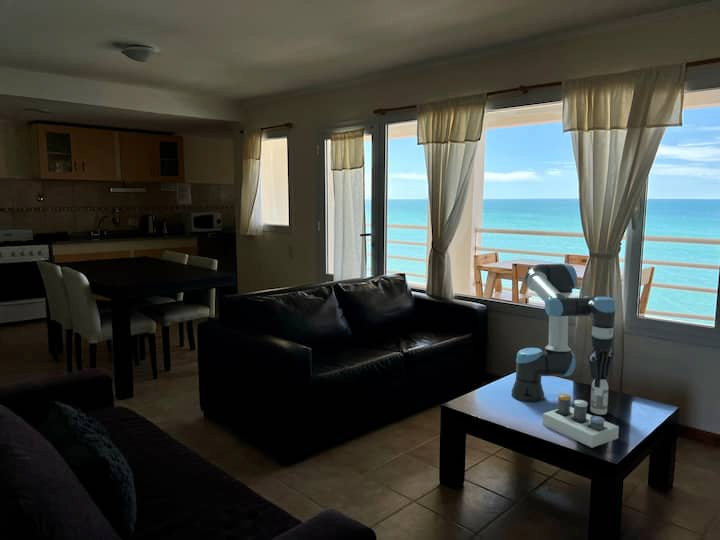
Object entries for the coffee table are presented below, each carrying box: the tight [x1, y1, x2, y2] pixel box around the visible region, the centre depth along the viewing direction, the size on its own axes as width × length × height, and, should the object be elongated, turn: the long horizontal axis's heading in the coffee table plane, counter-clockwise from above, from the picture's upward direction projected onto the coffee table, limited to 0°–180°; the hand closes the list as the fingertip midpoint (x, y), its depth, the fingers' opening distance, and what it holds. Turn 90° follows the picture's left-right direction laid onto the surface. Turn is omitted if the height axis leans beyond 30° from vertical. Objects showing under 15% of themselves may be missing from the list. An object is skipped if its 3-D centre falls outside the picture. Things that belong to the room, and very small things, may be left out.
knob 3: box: [590, 415, 606, 431], centre depth 204 cm, size 5×5×8 cm
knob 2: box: [573, 399, 589, 423], centre depth 211 cm, size 5×5×8 cm
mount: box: [542, 406, 620, 448], centre depth 211 cm, size 24×16×5 cm, turn 29°
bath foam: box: [589, 378, 609, 415], centre depth 230 cm, size 7×7×20 cm
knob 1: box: [557, 393, 572, 416], centre depth 218 cm, size 5×5×8 cm
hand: (598, 394), depth 203 cm, fingers closed
